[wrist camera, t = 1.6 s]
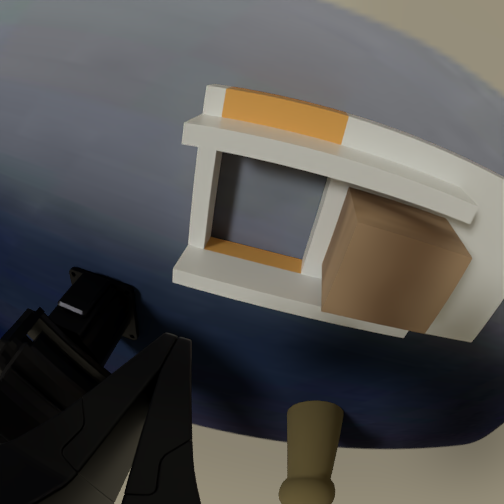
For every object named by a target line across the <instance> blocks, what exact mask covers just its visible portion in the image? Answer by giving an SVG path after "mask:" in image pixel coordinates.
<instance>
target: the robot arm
mask: <svg viewBox="0 0 504 504" xmlns="http://www.w3.org/2000/svg"><path fill="white" fill-rule="evenodd" d="M69 274H70V278H71V283H72V286H71V287H70V288H69V289H68V291H67V292H66V293H65V294H64V295H63V296H62V298H61V299H60V300H59V301H58V305H57V306H56V308H55V309H54V310H53V311H52V313H51V314H50V315H49V316H47V315H46V314H45V313H44V312H45V311H44V310H43V309H42V308H41V307H39V308H38V310H37V311H36V312H35V311H33V310H31V309H27V310H26V311H25V312H24V313H23V314H22V316H21V317H20V318H19V319H18V320H17V321H16V323H15V324H14V325H13V326H12V327H11V328H10V329H9V330H8V331H7V332H6V333H5V334H4V335H3V337H2V338H1V339H0V504H114V502H115V500H116V498H117V496H118V494H119V492H120V490H121V487H122V485H123V483H124V481H125V479H126V477H127V475H128V472H129V470H130V468H131V470H130V474H129V478H128V481H127V485H126V489H125V493H124V494H125V495H124V497H123V500H122V503H121V504H201V502H200V497H199V493H198V489H197V483H196V478H195V472H194V462H193V445H192V401H191V360H192V341H191V340H190V339H187V338H183V337H179V338H178V336H176V335H174V334H170V333H164V334H162V335H161V336H160V337H158V338H157V339H156V340H155V341H153V342H152V343H151V344H149V345H148V346H147V347H146V348H144V349H143V350H142V351H141V352H139V353H138V354H137V355H135V356H134V357H133V358H132V359H130V360H129V361H128V362H126V363H125V364H124V365H123V366H121V367H120V368H119V369H117V370H116V371H115V372H114V373H112V374H111V373H110V372H109V371H107V370H106V369H105V368H104V365H105V364H106V362H107V360H108V358H109V357H110V355H111V353H112V352H113V350H114V348H115V347H116V345H117V343H118V342H119V340H120V338H121V337H122V336H124V337H126V338H129V339H132V340H136V339H137V338H138V336H139V334H138V325H137V316H136V305H135V294H134V289H133V288H132V287H131V286H129V285H126V284H123V283H120V282H117V281H114V280H111V279H108V278H105V277H102V276H99V275H96V274H93V273H90V272H88V271H85V270H82V269H79V268H76V267H72V268H71V269H70V271H69ZM26 334H28V335H29V336H30V337H31V338H32V339H33V340H34V341H33V342H32V341H31V340H30V339H29V338H28V337H27V336H26Z"/></svg>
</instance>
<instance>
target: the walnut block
mask: <svg viewBox="0 0 504 504" xmlns="http://www.w3.org/2000/svg"><path fill="white" fill-rule="evenodd" d="M471 260H472V257H471V255H470V254H469V252H468V250H467V249H466V247H465V246H464V244H463V243H462V241H461V240H460V238H459V237H458V235H457V234H456V232H455V231H454V229H453V228H452V226H451V225H450V224H449V222H448V221H447V219H446V218H443V217H440V216H438V215H435V214H432V213H429V212H426V211H424V210H421V209H418V208H415V207H412V206H409V205H406V204H403V203H400V202H397V201H394V200H391V199H388V198H385V197H382V196H378V195H375V194H372V193H369V192H365V191H362V190H359V189H355V188H352V187H349V188H348V191H347V194H346V197H345V200H344V203H343V206H342V209H341V212H340V215H339V218H338V221H337V223H336V226H335V229H334V232H333V235H332V238H331V241H330V243H329V246H328V249H327V252H326V254H325V257H324V260H323V262H322V293H321V311H322V312H326V313H330V314H334V315H339V316H343V317H348V318H352V319H357V320H361V321H366V322H370V323H375V324H379V325H384V326H389V327H394V328H398V329H403V330H408V331H413V332H418V333H423V334H425V333H426V331H427V330H428V328H429V327H430V325H431V324H432V323H433V321H434V320H435V318H436V317H437V315H438V314H439V312H440V311H441V309H442V308H443V306H444V305H445V303H446V302H447V300H448V299H449V297H450V295H451V294H452V292H453V291H454V289H455V287H456V286H457V284H458V282H459V281H460V279H461V277H462V276H463V274H464V272H465V271H466V269H467V267H468V265H469V264H470V262H471Z"/></svg>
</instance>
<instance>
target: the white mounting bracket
mask: <svg viewBox="0 0 504 504" xmlns="http://www.w3.org/2000/svg"><path fill="white" fill-rule="evenodd" d="M182 144H185V145H191V146H196V147H198V152H197V160H196V169H195V178H194V187H193V197H192V207H191V218H190V229H189V241H188V246H187V248H186V249H185V251H184V252H183V254H182V255H181V257H180V258H179V260H178V262H177V263H176V265H175V266H174V268H173V282H174V283H177V284H181V285H184V286H188V287H191V288H195V289H198V290H202V291H205V292H209V293H213V294H216V295H220V296H224V297H228V298H231V299H235V300H239V301H243V302H247V303H251V304H254V305H258V306H262V307H266V308H270V309H274V310H278V311H282V312H286V313H291V314H295V315H299V316H303V317H307V318H312V319H316V320H320V321H325V322H329V323H333V324H338V325H342V326H347V327H352V328H356V329H361V330H366V331H370V332H375V333H380V334H385V335H390V336H395V337H400V338H404V337H405V335H406V334H407V332H408V330H403V329H398V328H394V327H389V326H384V325H379V324H375V323H370V322H366V321H361V320H357V319H352V318H348V317H343V316H339V315H334V314H330V313H326V312H322V311H321V293H322V262H323V260H324V257H325V254H326V252H327V249H328V246H329V243H330V241H331V238H332V235H333V232H334V229H335V226H336V223H337V221H338V218H339V215H340V212H341V209H342V206H343V203H344V200H345V197H346V194H347V191H348V188H349V187H352V188H355V189H359V190H362V191H365V192H369V193H372V194H375V195H378V196H382V197H385V198H388V199H391V200H394V201H397V202H400V203H403V204H406V205H409V206H412V207H415V208H418V209H421V210H424V211H426V212H429V213H432V214H435V215H438V216H440V217H443V218H446V219H447V221H448V222H449V224H450V225H451V226H452V228H453V229H454V231H455V232H456V234H457V235H458V237H459V238H460V240H461V241H462V243H463V244H464V246H465V247H466V249H467V250H468V252H469V254H470V255H471V257H472V260H471V262H470V264H469V265H468V267H467V269H466V271H465V272H464V274H463V276H462V277H461V279H460V281H459V282H458V284H457V286H456V287H455V289H454V291H453V292H452V294H451V295H450V297H449V299H448V300H447V302H446V303H445V305H444V306H443V308H442V309H441V311H440V312H439V314H438V315H437V317H436V318H435V320H434V321H433V323H432V324H431V325H430V327H429V328H428V330H427V331H426V333H425V334H429V335H435V336H440V337H445V338H450V339H456V340H461V341H466V342H472V341H473V340H474V339H475V337H476V336H477V335H478V334H479V332H480V331H481V330H482V328H483V327H484V326H485V324H486V323H487V322H488V320H489V319H490V317H491V316H492V315H493V313H494V312H495V311H496V309H497V308H498V306H499V305H500V303H501V302H502V300H503V299H504V177H503V176H501V175H499V174H497V173H496V172H494V171H492V170H490V169H488V168H486V167H484V166H482V165H480V164H478V163H476V162H474V161H472V160H469V159H467V158H465V157H463V156H461V155H459V154H457V153H454V152H452V151H450V150H448V149H445V148H443V147H441V146H438V145H436V144H434V143H431V142H429V141H426V140H424V139H421V138H419V137H416V136H414V135H411V134H409V133H406V132H403V131H401V130H398V129H395V128H392V127H389V126H387V125H384V124H381V123H378V122H375V121H372V120H369V119H366V118H363V117H359V116H356V115H353V114H350V113H346V112H343V111H339V110H336V109H332V108H329V107H325V106H321V105H318V104H314V103H310V102H306V101H302V100H298V99H293V98H289V97H284V96H280V95H275V94H270V93H265V92H260V91H255V90H250V89H244V88H238V87H232V86H226V85H219V84H213V85H207V87H206V94H205V100H204V107H203V114H201V115H199V116H197V117H195V118H193V119H190V120H188V121H186V122H184V128H183V137H182ZM223 152H227V153H232V154H236V155H241V156H246V157H250V158H255V159H259V160H264V161H268V162H272V163H276V164H280V165H284V166H289V167H293V168H296V169H300V170H304V171H308V172H312V173H316V174H319V175H323V176H327V177H328V178H327V181H326V185H325V188H324V191H323V195H322V198H321V201H320V205H319V208H318V211H317V214H316V218H315V221H314V224H313V227H312V230H311V234H310V237H309V240H308V243H307V246H306V249H305V252H304V255H303V258H302V260H301V259H297V258H293V257H289V256H285V255H281V254H278V253H274V252H270V251H266V250H262V249H258V248H254V247H250V246H246V245H242V244H238V243H234V242H230V241H226V240H222V239H218V238H214V237H211V230H212V223H213V215H214V208H215V201H216V193H217V186H218V180H219V173H220V166H221V159H222V153H223Z"/></svg>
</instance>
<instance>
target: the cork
mask: <svg viewBox="0 0 504 504" xmlns="http://www.w3.org/2000/svg"><path fill="white" fill-rule="evenodd" d="M342 421H343V410H342V409H341V408H340V407H339V406H337V405H335V404H333V403H329V402H324V401H306V402H300V403H298V404H295V405H293V406H292V407H290V408H289V409H288V412H287V444H288V445H287V448H288V450H287V451H288V455H287V456H288V458H287V459H288V460H287V461H288V462H287V465H288V466H287V469H288V470H287V471H288V472H287V473H288V474H287V479H286V480H285V481H284V482H283V483H282V485H281V487H280V490H279V500H280V501H281V503H282V504H331V503H332V502H333V500H334V497H335V487H334V483H333V482H332V481H331V479H330V478H331V474H332V470H333V466H334V461H335V456H336V452H337V447H338V442H339V437H340V432H341V426H342Z"/></svg>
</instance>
